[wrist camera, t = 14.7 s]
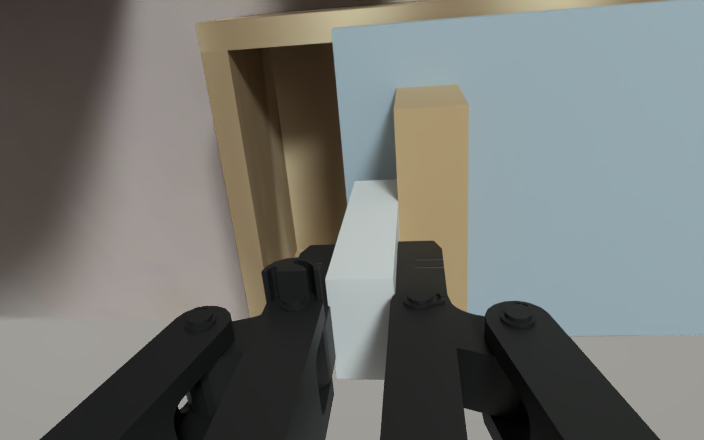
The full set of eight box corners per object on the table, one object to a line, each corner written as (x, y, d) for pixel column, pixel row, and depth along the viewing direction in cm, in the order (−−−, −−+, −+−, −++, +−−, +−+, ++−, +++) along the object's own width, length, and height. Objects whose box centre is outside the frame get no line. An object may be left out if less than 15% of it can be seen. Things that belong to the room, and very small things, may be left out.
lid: (361, 323, 22) (350, 398, 18) (335, 27, 18) (312, 37, 14) (795, 319, 20) (892, 402, 16) (895, -18, 16) (1068, -22, 12)
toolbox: (285, 258, 30) (252, 330, 24) (250, 15, 25) (195, 23, 18) (760, 245, 27) (870, 324, 20) (831, -35, 22) (1006, -46, 15)
